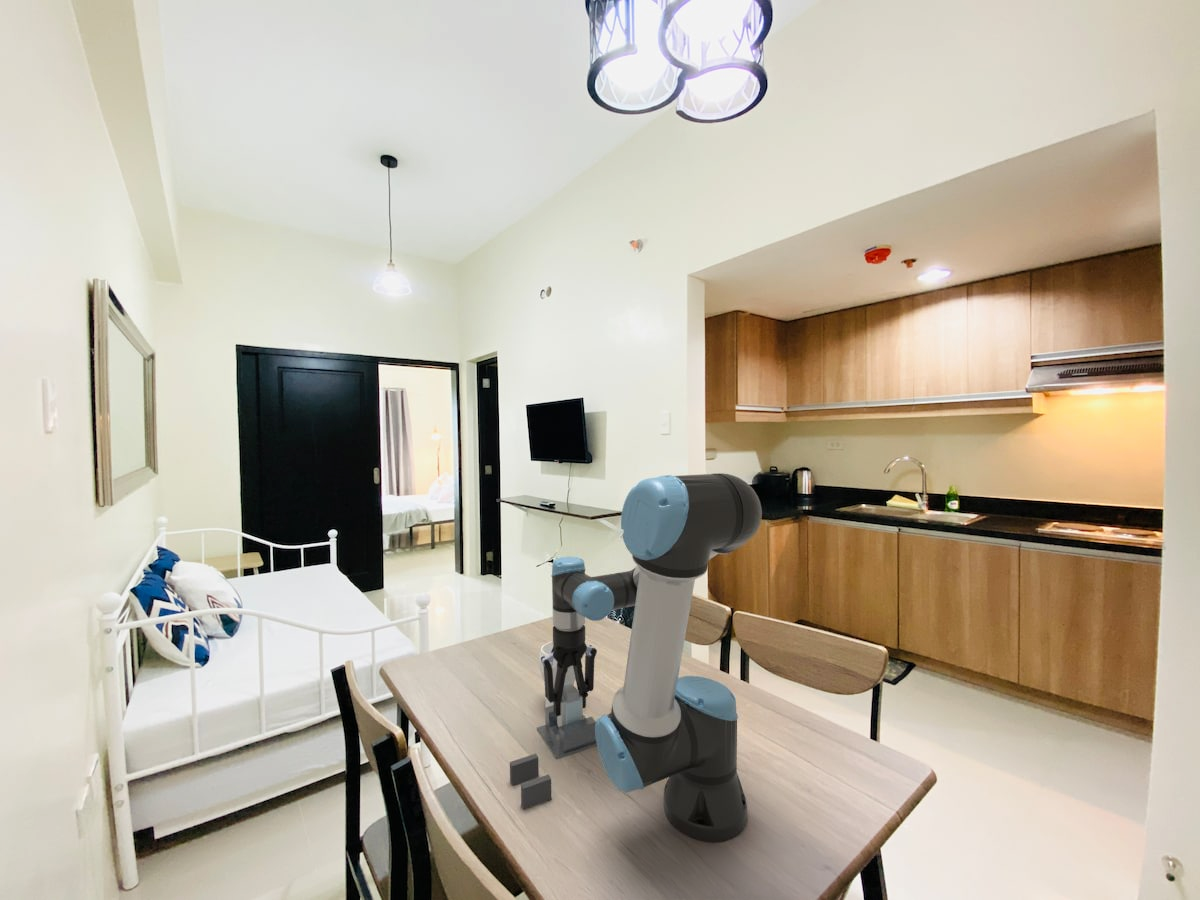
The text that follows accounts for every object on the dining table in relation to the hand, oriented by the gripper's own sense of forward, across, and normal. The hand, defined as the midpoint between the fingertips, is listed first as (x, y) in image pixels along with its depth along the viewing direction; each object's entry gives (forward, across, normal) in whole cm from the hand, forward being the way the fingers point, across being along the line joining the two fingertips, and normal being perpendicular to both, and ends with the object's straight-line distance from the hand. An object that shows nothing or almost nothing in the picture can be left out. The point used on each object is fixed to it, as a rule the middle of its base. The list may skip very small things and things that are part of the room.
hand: (570, 724), depth 111 cm
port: (+3, 0, 0) cm, 3 cm away
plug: (+2, 0, 0) cm, 2 cm away
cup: (+3, -3, -13) cm, 14 cm away
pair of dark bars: (+3, +14, +12) cm, 19 cm away
